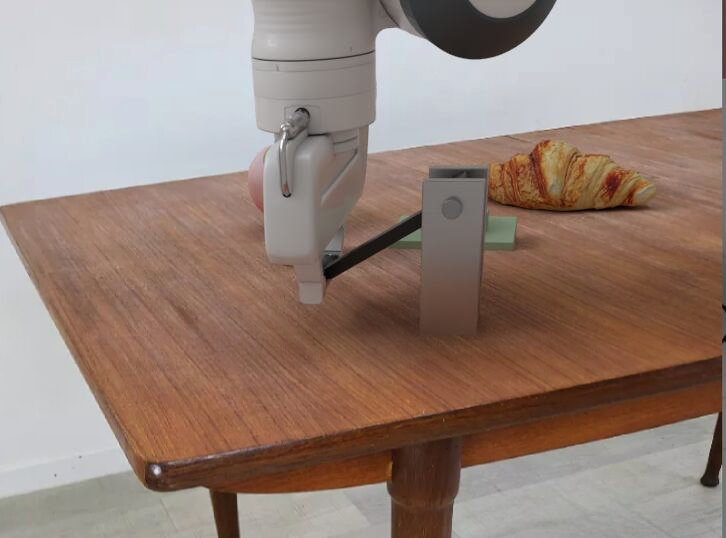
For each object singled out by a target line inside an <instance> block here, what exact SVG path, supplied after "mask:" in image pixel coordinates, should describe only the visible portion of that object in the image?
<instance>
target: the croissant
mask: <svg viewBox="0 0 726 538" xmlns="http://www.w3.org/2000/svg"><path fill="white" fill-rule="evenodd" d="M488 165H489V182H488V196H489V197H490V198H491V199H492V200H494V201H496V202H499V203H501V204H502V205H510V206H511V205H512V206H516V207H519V208H520V207H521V208H523V209H528V210H529V209H531V210H535V211H536V210H548V211H556V212H566V211H581V210H588V209H596V210H600V209H607V208H611V209H612V208H616V207H617V206H625V207H635V206H640V205H644V204H647V203H648V202H650V201H652V200H653V199H654V198H655V197H656V194H657V191H658V189H657V186H656V185H655V184H654V183H652V182H649V181H648V180H647V179H646V178H645V177H644V176H642V175H641V173H640V172H638V170H636V169H628V170H626V169H624V167H622V166H621V165H619V164H618V163H616V162H615V160H613V159H612V158H611V157H610V155H608V154H601V153H596V154H594V153H587V152H584V153H583V154H582V152H581V151H580V150H579V148H578V147H577V146H575V145H573V144H572V143H569V142H563V141H560V140H556V139H555V140H551V139H546V140H545V139H542V140H540V141H539V142H537V143H536V145H535V146H534V148H533V150H532V151H531V152H530V153H526V152H525V153H524V152H517V153H516V154H514V155H513V156H511V157H510V160H508V161H505V162H504V163H499V162H496V163H494V162H493V163H492V162H491V163H488Z"/></svg>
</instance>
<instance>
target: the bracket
mask: <svg viewBox="0 0 726 538" xmlns="http://www.w3.org/2000/svg"><path fill="white" fill-rule="evenodd" d="M465 171H467V173H468V175H469V177H470V178H455V177H456V176H458V175H460V174H462V173H463V172H465ZM488 182H489V164H485V165H484V164H483V165H482V164H481V165H479V164H477V165H476V164H475V165H473V164H472V165H471V164H470V165H465V164H464V165H462V164H461V165H459V164H458V165H456V164H455V165H430V167H429V168H428V177H426V178H423V181H422V188H421V189H422V190H421V191H422V192H421V209H422V230H421V249H420V276H419V277H420V279H419V280H420V281H419V283H420V284H419V327H418V328H419V329H418V334H419V335H435V336H436V335H439V336H440V335H441V336H466V337H467V336H468V337H476V336H477V332H478V321H479V320H478V319H479V318H480V317H481V313H482V298H483V281H484V264H485V263H484V262H485V250H484V249H485V232H486V215H487V207H488V199H489V198H488V196H489V195H488Z"/></svg>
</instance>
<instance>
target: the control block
mask: <svg viewBox="0 0 726 538" xmlns="http://www.w3.org/2000/svg"><path fill="white" fill-rule="evenodd" d="M489 214H490V207H489V206H487V215H486V232H485V249H484V251H514V250H515V246H516V241H517V230H518V229H517V228H518V216H495V215H493V216H492V215H491V216H490V215H489ZM409 216H410V215H401V216H400V218H399V220H398V221H397V223H399V222H401V221H403V220H404V219H406V218H408V217H409ZM421 230H422V228H420V229H418V230H416V231H415V232H413V233H411V234H409V235H408V236H406V237H404V238H402V239H401V240H399V241H397V242H395V243H394V244H392V245H390V246H389V247H387V249H388V250H389V249H392V250H393V249H396V250H421Z"/></svg>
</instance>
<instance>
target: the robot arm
mask: <svg viewBox="0 0 726 538" xmlns="http://www.w3.org/2000/svg"><path fill="white" fill-rule="evenodd" d="M557 1H558V0H250V3H251V7H252V12H253V33H252V40H251V45H250V58H251V59H250V60H251V71H252V72H251V75H252V86H253V87H252V88H253V99H254V114H255V126H256V128H257V129H259V130H260V131H262V132H265V133H270V134H273V139H274V140H273V144H272V145H273V146H271V145H270V146H271V147H270V149H269V150H268V151H267V154H266V157H265V161H264V173H263V198H264V214H263V228H264V229H263V230H264V246H265V251H266V255H267V257H268V260H269V261H270V263H271V264H273V265H278V266H279V265H281V266H284V265H293V267H294V268H293V269H294V273H295V276H296V279H297V282H298V291H299V293H298V294H299V301H300V302H301V303H302V304H304V305H313V306H314V305H316V306H317V305H321V304H322V302H323V300H324V298H325V297H326V294H327V289H326V288H325V287H326V280H325V276H323V268H322V259H323V257H324V256H326V255H330V256H333V257H334V258H336V259H337V258H339V257H341V256H343V255H344V253H343V249H344V243H345V236H346V228H347V218H348V217H349V215H350V214H351V212H352V211H353V209H354V208H355V206H356V205H357V204H358V202H359V200H360V199H361V198H362V196H363V192H364V189H365V184H366V177H367V165H368V151H369V134H370V133H369V132H370V126H371V125H372V124H374V123H375V122H376V120H377V95H378V94H377V92H378V90H377V89H378V88H377V50H376V48H377V47H376V46H377V43H376V41H377V37H378V35H379V34H380V33H381V32H382V31H383V30H386V29H399V30H401V31H404V32H406V33H408V34H409V35H412V36H415V37H417V38H420V39H423V40H426V41H428V42H429V43H430V44H431V45H433V46H434V47H436V48H437V49H439V50H441V51H442V52H444V53H446V54H448V55H451V56H453V57H455V58H460V59H464V60H473V61H474V60H488V59H491V58H495V57H499V56H502V55H503V54H506V53H508V52H510V51H512V50H515V48H517V47H519V46H520V45H521V44H523V43H524V42H525V41H526V40H528V39H529V38H531V36H532V35H534V33H535V32H537V30H538V29H539V27H541V25H542V24H543V23H544V22H545V20H546V19H547V18H548V16H549V15H550V14H551V12H552V10H553V8H554V6H555V5H556V2H557Z"/></svg>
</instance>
